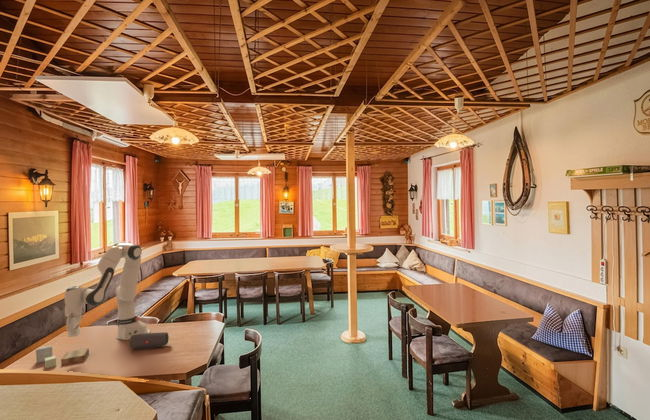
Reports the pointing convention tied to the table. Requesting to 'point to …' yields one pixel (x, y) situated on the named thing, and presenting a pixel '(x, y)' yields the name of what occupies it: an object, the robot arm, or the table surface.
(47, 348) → the medicine box
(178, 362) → the table surface
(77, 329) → the cream painted cube
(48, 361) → the sage painted cube
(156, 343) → the bluetooth speaker
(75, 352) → the walnut block
